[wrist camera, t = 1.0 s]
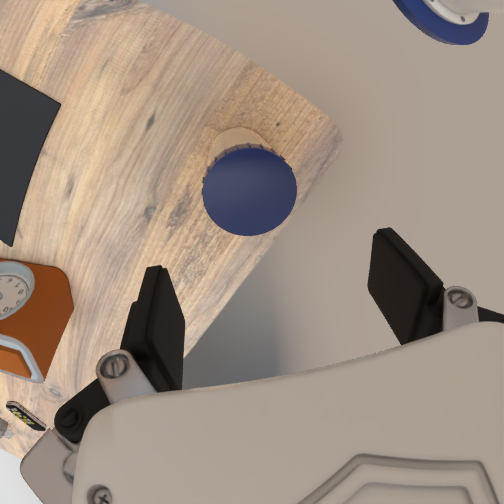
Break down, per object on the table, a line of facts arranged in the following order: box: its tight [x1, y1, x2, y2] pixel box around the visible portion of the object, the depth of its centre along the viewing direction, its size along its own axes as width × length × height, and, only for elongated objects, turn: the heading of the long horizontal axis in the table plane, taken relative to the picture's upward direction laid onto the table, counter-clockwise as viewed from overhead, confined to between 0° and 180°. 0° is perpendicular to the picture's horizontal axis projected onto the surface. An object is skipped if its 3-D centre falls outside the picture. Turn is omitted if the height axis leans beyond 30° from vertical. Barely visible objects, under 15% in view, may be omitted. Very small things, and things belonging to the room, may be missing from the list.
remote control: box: [6, 402, 46, 431], centre depth 53 cm, size 6×13×2 cm, turn 16°
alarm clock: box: [0, 259, 74, 383], centre depth 28 cm, size 15×8×14 cm, turn 79°
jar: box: [207, 127, 271, 166], centre depth 24 cm, size 6×6×10 cm
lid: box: [202, 142, 297, 236], centre depth 20 cm, size 6×6×2 cm
